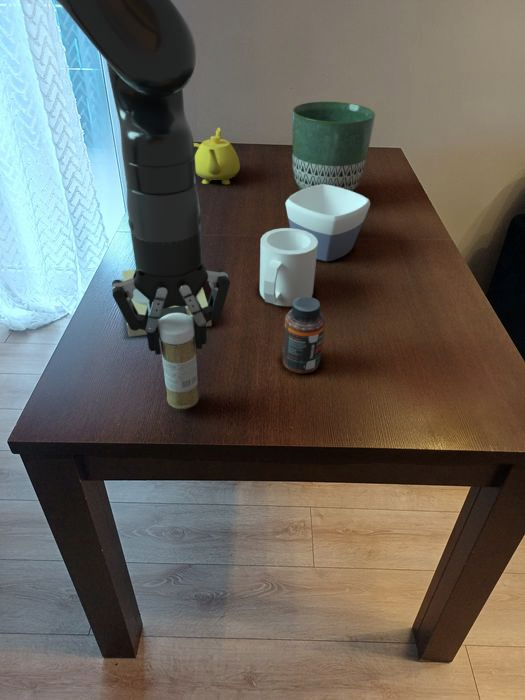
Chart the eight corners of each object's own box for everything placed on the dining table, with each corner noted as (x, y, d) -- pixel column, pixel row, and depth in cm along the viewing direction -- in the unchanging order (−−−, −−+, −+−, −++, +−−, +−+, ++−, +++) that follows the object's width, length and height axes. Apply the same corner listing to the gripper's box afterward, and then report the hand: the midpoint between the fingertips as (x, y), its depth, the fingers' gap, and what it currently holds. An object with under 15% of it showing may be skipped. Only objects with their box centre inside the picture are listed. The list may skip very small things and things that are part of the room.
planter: (362, 188, 137) (375, 104, 123) (361, 217, 122) (375, 125, 108) (292, 182, 139) (297, 99, 125) (283, 210, 124) (287, 119, 110)
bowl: (273, 247, 108) (275, 198, 101) (317, 226, 117) (321, 180, 110) (330, 273, 100) (336, 221, 93) (371, 248, 109) (380, 199, 102)
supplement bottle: (321, 376, 76) (328, 315, 69) (282, 375, 76) (286, 314, 69) (318, 351, 81) (325, 292, 73) (281, 350, 81) (285, 291, 73)
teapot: (192, 166, 148) (189, 125, 140) (242, 167, 148) (241, 126, 140) (182, 191, 132) (178, 147, 125) (237, 193, 132) (237, 148, 125)
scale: (129, 337, 83) (126, 322, 81) (124, 282, 96) (121, 268, 94) (211, 325, 85) (210, 311, 84) (195, 274, 99) (194, 260, 97)
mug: (297, 321, 87) (301, 268, 80) (244, 308, 90) (244, 255, 83) (319, 284, 97) (324, 234, 90) (270, 273, 100) (272, 224, 93)
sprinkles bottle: (192, 384, 72) (187, 308, 63) (203, 405, 69) (199, 327, 60) (162, 393, 70) (152, 315, 62) (172, 414, 67) (163, 336, 59)
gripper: (224, 205, 57) (226, 324, 68) (96, 214, 54) (119, 338, 65) (238, 233, 52) (238, 358, 62) (96, 245, 49) (122, 375, 59)
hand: (177, 347), depth 64 cm, fingers closed on sprinkles bottle, 4 cm apart
